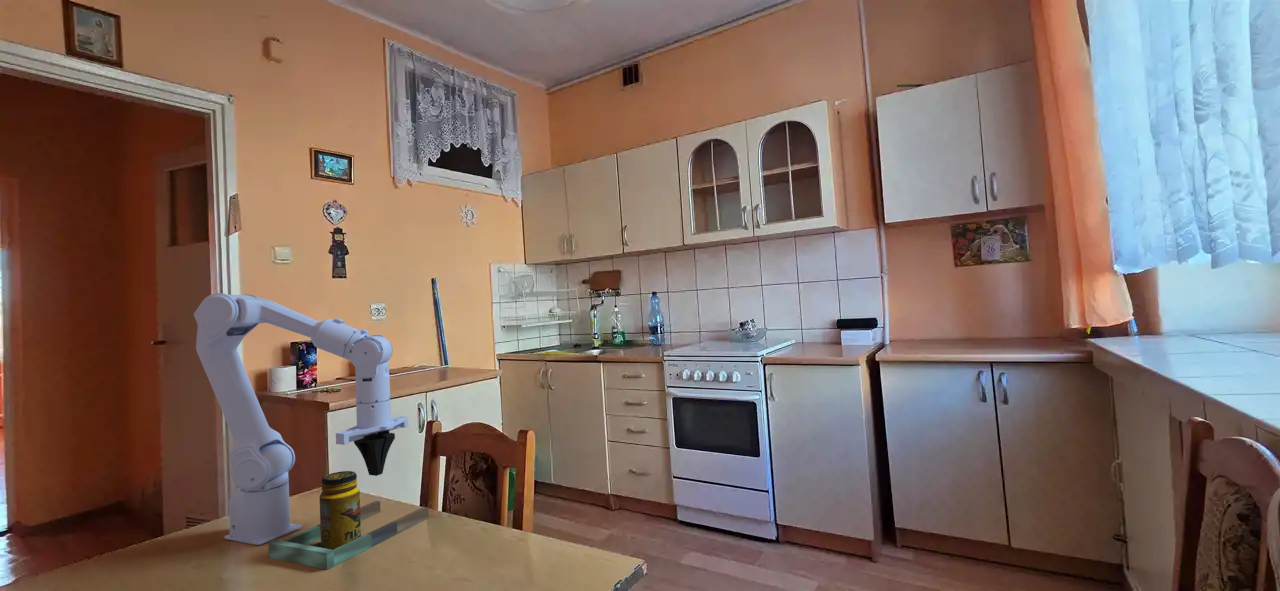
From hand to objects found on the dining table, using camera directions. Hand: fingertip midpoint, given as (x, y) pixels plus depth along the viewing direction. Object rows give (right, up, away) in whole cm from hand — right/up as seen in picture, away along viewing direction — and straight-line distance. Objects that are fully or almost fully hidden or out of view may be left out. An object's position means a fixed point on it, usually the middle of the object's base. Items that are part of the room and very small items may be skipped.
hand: (375, 474), depth 102 cm
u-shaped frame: (-1, -9, -4) cm, 10 cm away
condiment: (-3, -10, -9) cm, 13 cm away
